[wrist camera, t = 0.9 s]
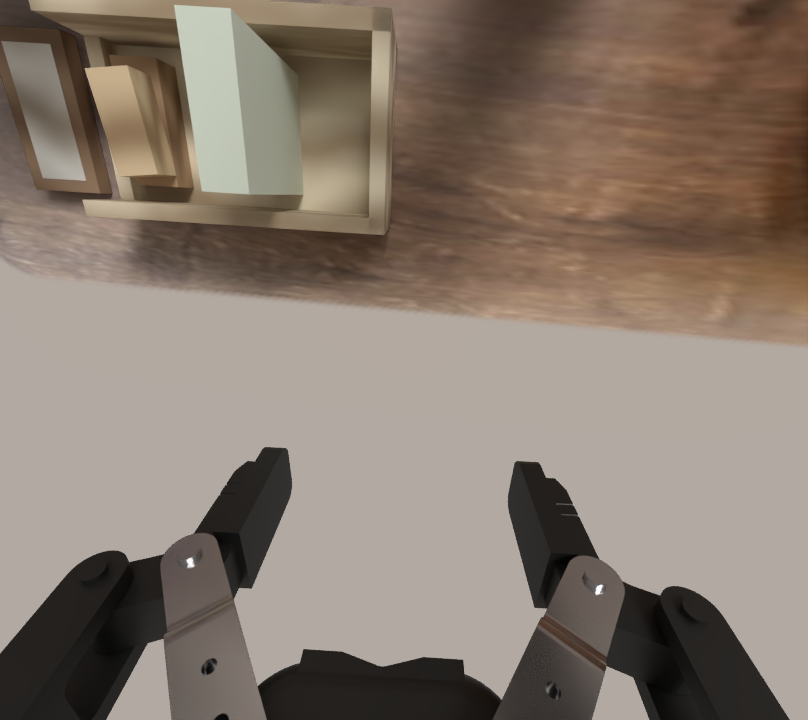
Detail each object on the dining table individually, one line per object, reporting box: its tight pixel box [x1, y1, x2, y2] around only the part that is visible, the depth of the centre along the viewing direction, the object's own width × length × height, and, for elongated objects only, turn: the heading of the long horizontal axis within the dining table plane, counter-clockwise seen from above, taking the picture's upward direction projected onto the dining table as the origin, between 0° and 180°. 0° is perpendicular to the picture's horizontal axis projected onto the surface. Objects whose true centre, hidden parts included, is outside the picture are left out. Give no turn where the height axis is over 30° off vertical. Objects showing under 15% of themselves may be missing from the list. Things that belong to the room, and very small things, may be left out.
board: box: [0, 26, 112, 194], centre depth 33 cm, size 12×6×2 cm, turn 177°
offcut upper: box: [85, 65, 177, 178], centre depth 29 cm, size 7×3×2 cm, turn 3°
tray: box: [28, 0, 397, 235], centre depth 30 cm, size 14×24×7 cm, turn 87°
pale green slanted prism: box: [174, 5, 304, 195], centre depth 27 cm, size 9×3×12 cm, turn 177°
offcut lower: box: [109, 55, 194, 188], centre depth 31 cm, size 9×4×2 cm, turn 177°
